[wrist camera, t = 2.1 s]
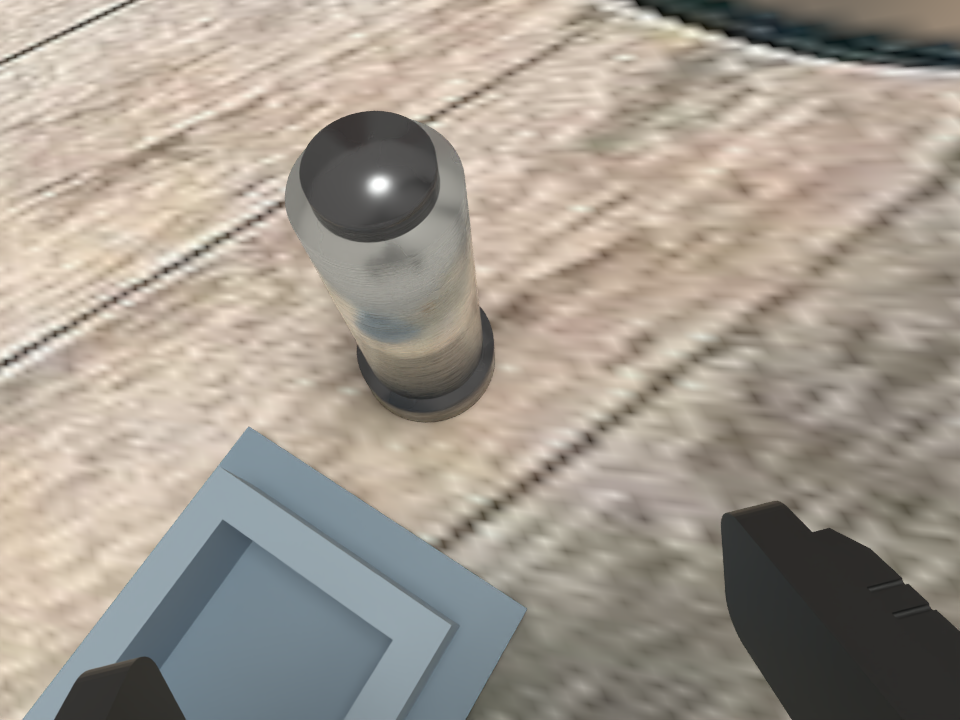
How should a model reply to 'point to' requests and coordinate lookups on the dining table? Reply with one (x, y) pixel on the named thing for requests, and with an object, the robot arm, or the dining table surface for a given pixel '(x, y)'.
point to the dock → (298, 607)
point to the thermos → (397, 259)
